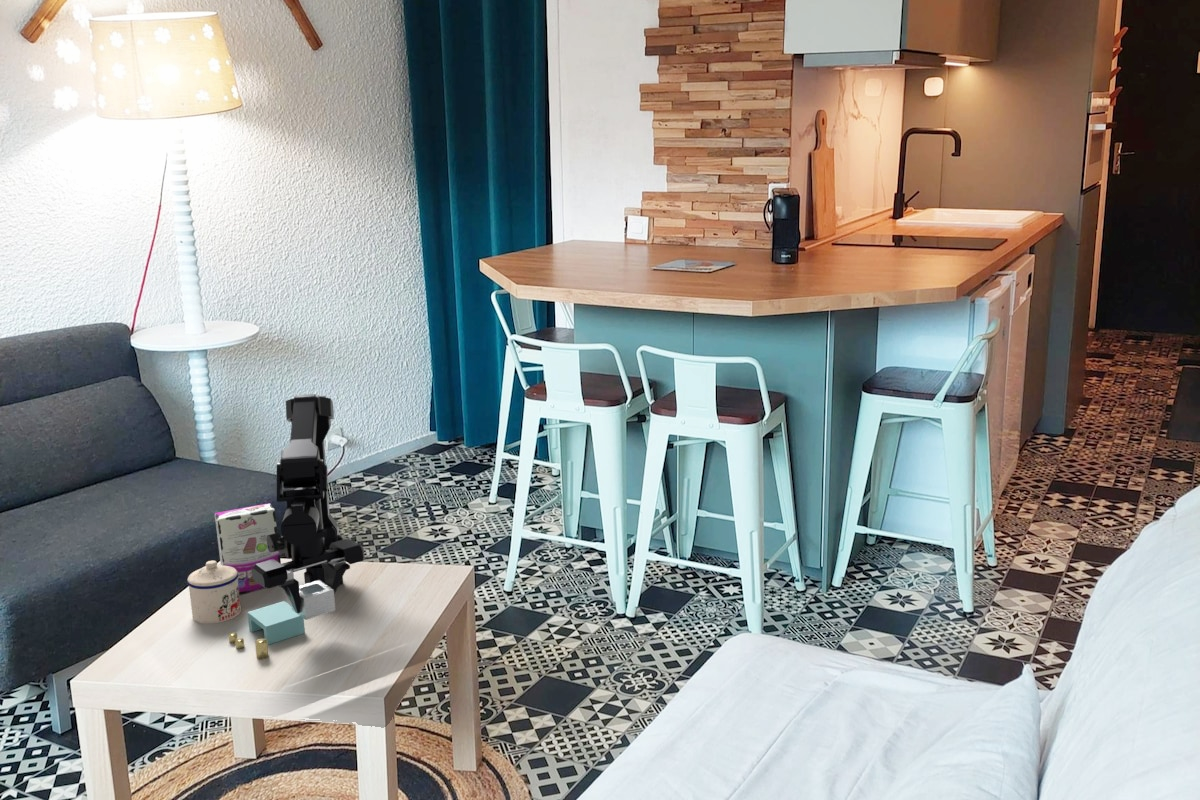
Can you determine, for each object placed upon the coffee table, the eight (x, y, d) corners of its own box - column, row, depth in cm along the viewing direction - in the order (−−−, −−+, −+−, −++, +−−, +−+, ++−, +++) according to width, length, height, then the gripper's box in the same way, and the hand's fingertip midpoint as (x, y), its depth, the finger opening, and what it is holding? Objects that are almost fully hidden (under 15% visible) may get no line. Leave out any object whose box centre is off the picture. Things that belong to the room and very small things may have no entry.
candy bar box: (278, 577, 225) (271, 501, 221) (283, 586, 221) (276, 509, 217) (222, 588, 220) (213, 511, 216) (226, 597, 216) (217, 519, 212)
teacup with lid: (226, 632, 201) (219, 573, 198) (182, 628, 203) (174, 570, 200) (259, 604, 212) (253, 548, 210) (217, 601, 214) (210, 545, 212)
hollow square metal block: (321, 600, 197) (319, 580, 196) (335, 610, 193) (333, 589, 192) (291, 609, 194) (289, 588, 193) (305, 619, 190) (303, 598, 189)
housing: (285, 618, 203) (284, 600, 202) (304, 632, 197) (303, 614, 196) (249, 629, 199) (247, 612, 198) (267, 644, 193) (266, 626, 192)
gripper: (333, 500, 201) (340, 579, 205) (234, 525, 190) (243, 608, 193) (362, 515, 193) (369, 597, 197) (261, 542, 181) (270, 629, 185)
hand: (313, 607), depth 193 cm, fingers closed on hollow square metal block, 6 cm apart
